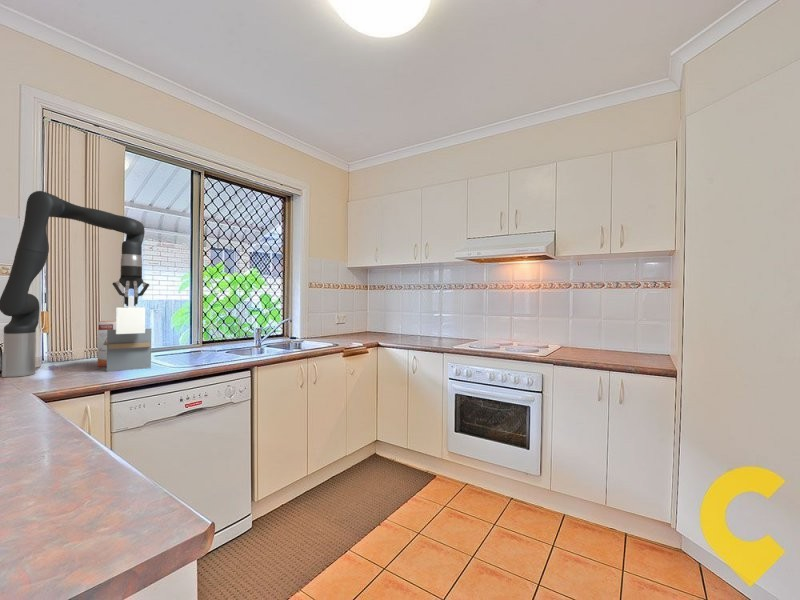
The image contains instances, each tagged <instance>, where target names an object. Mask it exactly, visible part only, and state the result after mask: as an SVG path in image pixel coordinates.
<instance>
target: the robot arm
mask: <svg viewBox="0 0 800 600" xmlns="http://www.w3.org/2000/svg"><path fill="white" fill-rule="evenodd" d="M24 212H25V214H24V222H23V226H22V230H21V233H20V236H19V237H20V238H19V241H18V244H17V248H16V251H15V255H14V259H13V262H12V266H11V268H10V272H9V276H8V279H7V282H6V284H5V287H4V289H3V291H2V293H1V296H0V312H1V313H2V314H3V315H5V316H8V317H11V319H10V321H9V323H7V324H5V325H4V327H3V352H2V353H1V378H13V377H14V378H15V377H23V376H24V377H26V376H31V375H32V376H33V375H35V374H36V353H37V351H36V347H37V346H36V339H37V338H36V335H37V334H36V333H37V327H38V325H39V322H40V309H41V307H40V301H39V299H38V298H37V297H36V296H35V295H34V294H32V293H29V291H30V287H31V285H32V283H33V281H34V280H35V278H36V277H38V275H39V274H40V273H41V272H42V270H43V268H45V265H46V264H47V259H48V256H49V253H50V245H49V239H48V235H47V226H48V222H49V219H50V218H59V219H67V220H74V221H78V222H82V223H85V224H88V225H90V226H93V227H98V228H100V229H104V230H105V229H106V230H109V231H110V230H111V231H116V232H118V233H122V234H124V235H125V234H126V237H125V240H124V241H123V242H122V243H121V256H120V257H121V258H120V278H119V279H118V280H117V281H114V282H112V286H113V287H114V289H115V291H116V292H117V294H118V295H119V296H121V297H123V298H124V299H123V303H124V305H125V307H128V296H129V291H130V290H131V289H132V290H133V296H134V307H137V306H136V305H138V300H139V297H143V295H145V293H146V291H147V290H148V288H149V287H150V283H147V282H146V281H144V280H143V256H142V251H143V249H142V247H143V243H144V238H145V233H146V232H145V226H144V224H143V223H142V222H141V221H139V220H137V219H135V218H132V217H129V216H128V217H127V216H124V215H118V214H114V213H112V212H109V211H105V210H101V209H96V208H91V207H85V206H81V205H78V204H77V205H76V204H74V203H71V202H69V201H67V200H65V199H62V198H60V197H58V196H57V195H56V194H55V195H54V194H52V193H49V192H47V191H43V190H36V191H34V192H32V193H30V194H29V196H28V197H27V199H26V206H25V211H24ZM120 285H121V286H122V287H123V288H124V293H123V292H122V290H121V288H120ZM141 286H142V287H143V288H142V289H141V290H140V292H139V291H138V289H139V287H141Z"/></svg>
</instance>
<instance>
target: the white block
mask: <svg viewBox="0 0 800 600" xmlns="http://www.w3.org/2000/svg"><path fill="white" fill-rule="evenodd" d="M115 310H116V311H115V321H116V334H133V333H145V329H146V307H143V306H140V307H137V306H134V295H128V306H118V307H115Z"/></svg>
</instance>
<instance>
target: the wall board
mask: <svg viewBox="0 0 800 600" xmlns="http://www.w3.org/2000/svg"><path fill="white" fill-rule="evenodd" d="M143 368H145V369H151V368H152V328H145V333H133V334H116V330H107V366H106V372H107V373H108V372H119V371H129V370H131V371H132V370H140V369H141V370H143Z"/></svg>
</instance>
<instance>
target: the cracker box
mask: <svg viewBox="0 0 800 600" xmlns="http://www.w3.org/2000/svg"><path fill="white" fill-rule="evenodd" d="M107 330H116V320H100V321H98V330H97V331H98V332H97V333H98V334H97V336H98V337H97V343H98V344H97V368H100V367H103V368H104V367H107Z"/></svg>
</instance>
